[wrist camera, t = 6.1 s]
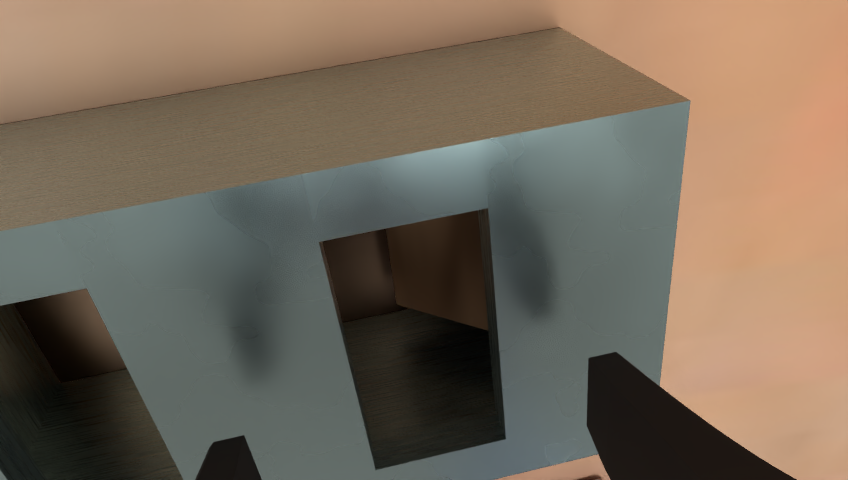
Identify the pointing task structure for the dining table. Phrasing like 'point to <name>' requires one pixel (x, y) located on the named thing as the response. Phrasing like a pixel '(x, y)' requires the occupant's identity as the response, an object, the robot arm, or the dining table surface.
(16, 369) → the toaster
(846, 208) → the dining table surface
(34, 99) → the dining table surface
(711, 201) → the dining table surface
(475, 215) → the block
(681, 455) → the robot arm
